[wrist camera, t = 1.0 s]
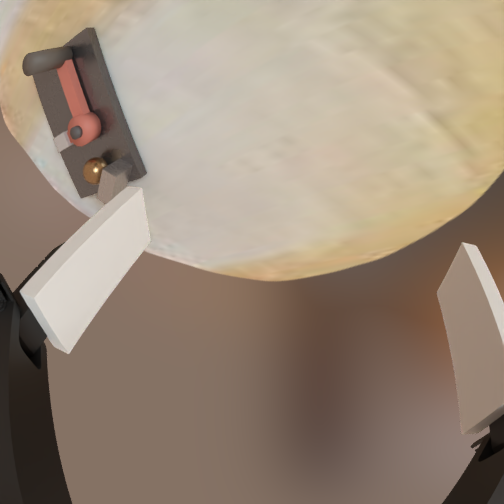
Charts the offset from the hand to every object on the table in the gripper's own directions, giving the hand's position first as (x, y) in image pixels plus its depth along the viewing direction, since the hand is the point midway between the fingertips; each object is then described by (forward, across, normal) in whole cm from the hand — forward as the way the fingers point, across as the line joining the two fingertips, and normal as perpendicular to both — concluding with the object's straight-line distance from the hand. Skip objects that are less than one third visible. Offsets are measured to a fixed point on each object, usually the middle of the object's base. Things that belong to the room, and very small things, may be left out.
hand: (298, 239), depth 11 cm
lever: (+23, -35, +2) cm, 42 cm away
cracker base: (+25, -33, -1) cm, 42 cm away
